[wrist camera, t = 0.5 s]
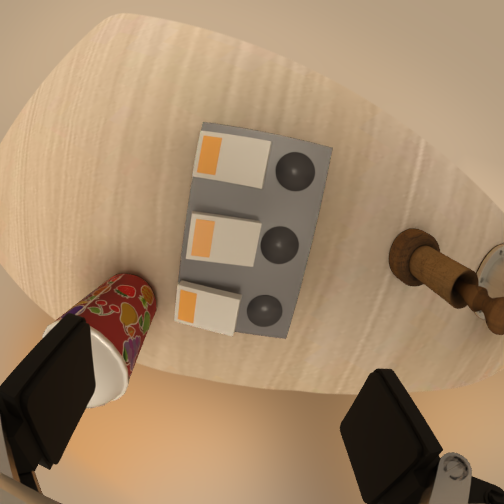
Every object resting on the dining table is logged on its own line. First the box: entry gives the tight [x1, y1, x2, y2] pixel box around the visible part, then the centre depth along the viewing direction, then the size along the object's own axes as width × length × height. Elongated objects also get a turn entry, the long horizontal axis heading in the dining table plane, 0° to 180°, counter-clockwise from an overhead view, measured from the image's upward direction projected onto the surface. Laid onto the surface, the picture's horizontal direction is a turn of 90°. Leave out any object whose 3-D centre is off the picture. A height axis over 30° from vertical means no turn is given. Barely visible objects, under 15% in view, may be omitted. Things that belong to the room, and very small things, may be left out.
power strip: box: [178, 122, 333, 339], centre depth 29 cm, size 12×20×4 cm, turn 169°
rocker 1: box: [192, 131, 272, 189], centre depth 24 cm, size 6×4×1 cm, turn 79°
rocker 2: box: [174, 280, 242, 336], centre depth 27 cm, size 6×4×1 cm, turn 79°
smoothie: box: [43, 274, 156, 408], centre depth 23 cm, size 8×8×20 cm
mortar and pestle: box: [389, 229, 504, 335], centre depth 23 cm, size 7×6×18 cm
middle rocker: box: [186, 211, 262, 267], centre depth 26 cm, size 6×4×1 cm, turn 79°
